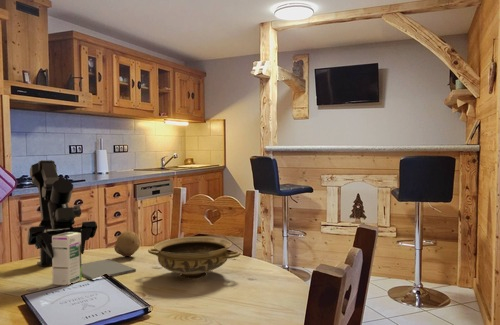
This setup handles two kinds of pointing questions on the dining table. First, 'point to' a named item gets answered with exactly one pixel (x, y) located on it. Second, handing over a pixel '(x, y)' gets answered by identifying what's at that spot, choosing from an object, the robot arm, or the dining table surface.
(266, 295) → the dining table surface
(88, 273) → the rubber mat
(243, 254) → the dining table surface
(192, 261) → the ceramic bowl
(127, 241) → the natural sponge
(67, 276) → the syrup box
